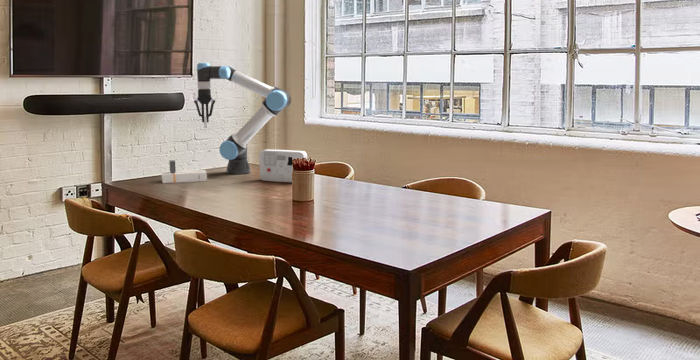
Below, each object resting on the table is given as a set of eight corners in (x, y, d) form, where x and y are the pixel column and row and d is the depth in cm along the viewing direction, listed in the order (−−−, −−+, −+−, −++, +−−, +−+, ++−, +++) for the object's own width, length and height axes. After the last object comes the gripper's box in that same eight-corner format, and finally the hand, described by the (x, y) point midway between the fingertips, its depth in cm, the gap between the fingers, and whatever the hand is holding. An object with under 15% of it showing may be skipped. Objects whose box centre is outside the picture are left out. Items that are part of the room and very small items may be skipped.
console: (204, 178, 400) (204, 169, 399) (207, 180, 390) (206, 172, 389) (161, 180, 392) (161, 171, 391) (162, 183, 382) (162, 174, 381)
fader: (175, 178, 392) (174, 160, 390) (176, 180, 387) (175, 161, 385) (170, 178, 391) (169, 160, 389) (170, 180, 386) (169, 161, 384)
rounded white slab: (257, 181, 390) (257, 150, 387) (263, 179, 397) (263, 149, 394) (302, 183, 380) (302, 152, 377) (307, 181, 387) (307, 151, 384)
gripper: (214, 88, 407) (215, 127, 410) (192, 88, 402) (194, 127, 406) (215, 88, 400) (217, 128, 403) (193, 89, 395) (195, 128, 399)
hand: (205, 127), depth 405 cm, fingers closed
